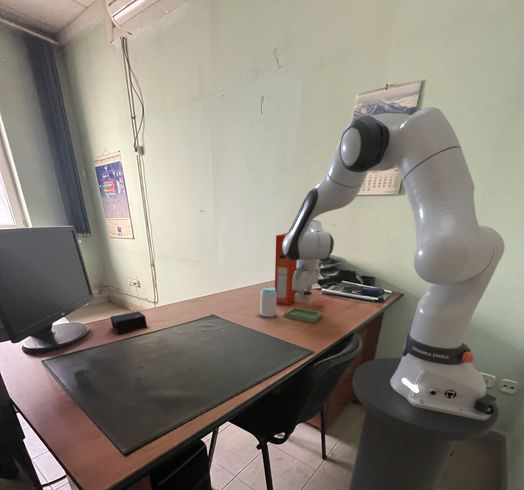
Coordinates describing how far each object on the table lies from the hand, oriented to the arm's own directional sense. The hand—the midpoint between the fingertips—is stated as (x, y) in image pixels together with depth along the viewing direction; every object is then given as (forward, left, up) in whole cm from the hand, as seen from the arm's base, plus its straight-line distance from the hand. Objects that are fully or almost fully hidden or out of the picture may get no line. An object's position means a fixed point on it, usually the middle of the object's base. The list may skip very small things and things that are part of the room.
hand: (304, 297), depth 122 cm
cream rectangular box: (0, 0, -2) cm, 2 cm away
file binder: (+18, -19, -9) cm, 28 cm away
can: (+14, +7, -9) cm, 18 cm away
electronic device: (+51, +50, -9) cm, 72 cm away
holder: (0, 0, -9) cm, 9 cm away
